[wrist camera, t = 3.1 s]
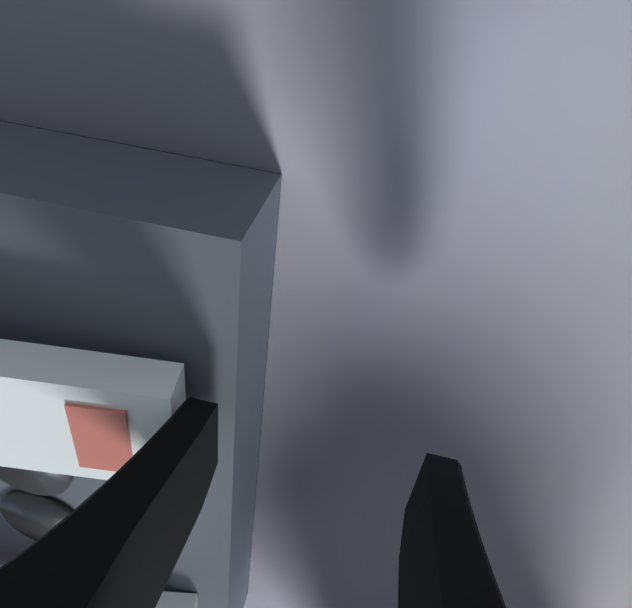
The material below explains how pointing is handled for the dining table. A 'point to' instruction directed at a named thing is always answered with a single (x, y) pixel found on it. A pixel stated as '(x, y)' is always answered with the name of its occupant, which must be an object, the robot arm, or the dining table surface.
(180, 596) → the rocker
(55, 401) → the rocker
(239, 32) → the dining table surface
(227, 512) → the switch panel
